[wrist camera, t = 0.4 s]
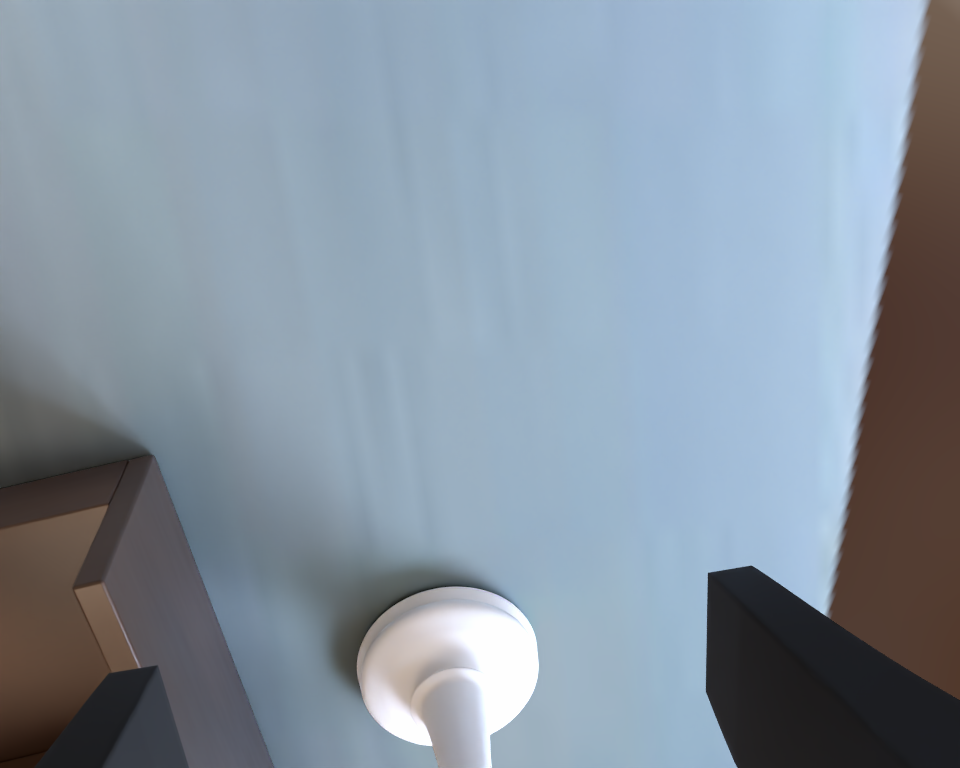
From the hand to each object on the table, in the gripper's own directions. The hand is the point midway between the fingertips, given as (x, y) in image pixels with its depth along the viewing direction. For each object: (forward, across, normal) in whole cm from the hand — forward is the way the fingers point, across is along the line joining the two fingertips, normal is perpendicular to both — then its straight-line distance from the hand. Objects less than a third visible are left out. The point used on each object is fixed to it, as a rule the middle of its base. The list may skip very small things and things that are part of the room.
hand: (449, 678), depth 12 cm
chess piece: (+10, 0, +8) cm, 13 cm away
